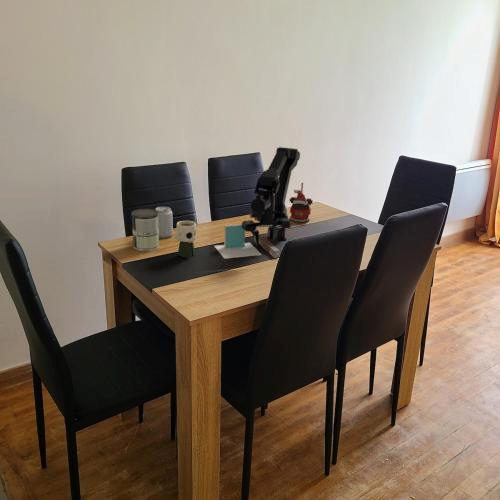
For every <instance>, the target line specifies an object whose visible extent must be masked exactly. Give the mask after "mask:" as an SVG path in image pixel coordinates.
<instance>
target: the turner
mask: <svg viewBox="0 0 500 500" xmlns="http://www.w3.org/2000/svg"><path fill="white" fill-rule="evenodd" d="M258 245H260V246H261V247H262V248H263V249H264V251H265V252H267V253H268V254H270V255H271V256H272V257H273V258H276V259H277V258H280V250H279V248H277V246H275V244H273V242H271V241H270V240H269V238H268V237H267V236H259V242H258Z"/></svg>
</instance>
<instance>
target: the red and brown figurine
mask: <svg viewBox="0 0 500 500" xmlns="http://www.w3.org/2000/svg"><path fill="white" fill-rule="evenodd" d="M300 185H301V187H300V189H298V188H295V189H293V193H294V194H297V196H291V197H290V198H289V202H290V204H292V205H291V206H290V210H289V213H290V216H289V220H291V221H295V222H298V221H299V223H303V222H304V223H305V222H308V221H310V219H311V217H310V215H311V210H312V209H311V207H310V206H311V205H312V204H313V200H312V198H309V197H307V198H306V196H305V194H304V193H303V191H304V182H301V184H300Z"/></svg>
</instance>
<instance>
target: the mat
mask: <svg viewBox="0 0 500 500" xmlns="http://www.w3.org/2000/svg"><path fill="white" fill-rule="evenodd" d="M214 248H215V249H216V250H217V251H218V253H219V254H220V255H221V256H222V258H223V259H225V260H226V259H233V258H244V257H252V256H256V257H257V256H262V255H263V254H262V253H261V252H260V251H259V250H258V249H257V248H256V247H255V246H254V245H253V244H252V243H251V242H245V247H234V248H225V247H224V244H221V245H220V244H219V245H218V244H217V245H214Z"/></svg>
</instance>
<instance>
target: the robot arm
mask: <svg viewBox="0 0 500 500" xmlns="http://www.w3.org/2000/svg"><path fill="white" fill-rule="evenodd" d="M300 157H301V152H300V151H299V150H298V148H292V147H282V146H279V147H276V150H275V155H274V157H273V158H272V161H271V162H270V165H269V167H268V169H265V170H264V171H262V173H261V174H260V176H259V177H258V179H257V181H256V186H255V188H254V195H256V196H255V199H252V201H251V203H250V208H251V209H250V212H249V215H250V216H249V217H250V218H251V219H249V220H243V221H241V224H242V228H243V229H244V230H245V232H249V233H251V234H252V237H253V240H254V243H255V246H257V247H258V246H259V237H260V236H259V235H260V231H259V230H258V228H267V236H266V238H267V239H271V240H272V244H273V245H275V244H276V243H277V241H286V240H287V238H286V230H287V229H291V225H292V224H291V223H292V222H291V220H290V217H289V215H288V210H287V207H286V204H285V203H286V199H287V193H288V190H289V185H290V180H291V175H292V171H293V170H294V169H295V168H296V167H297V166H298V163H299V162H298V161H299V160H300ZM252 219H254V221H256V222H254V221H253V220H252Z"/></svg>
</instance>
